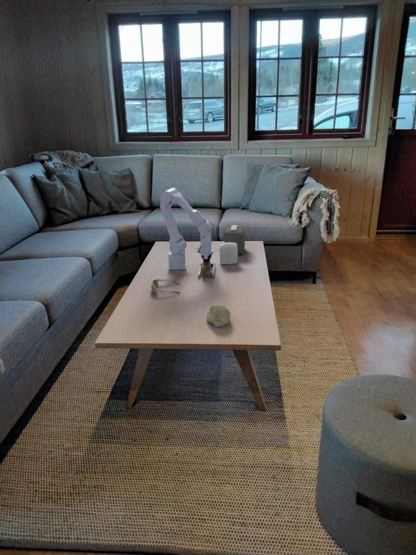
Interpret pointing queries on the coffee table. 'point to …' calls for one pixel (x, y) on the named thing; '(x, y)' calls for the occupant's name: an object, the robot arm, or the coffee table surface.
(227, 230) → the alarm clock
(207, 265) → the walnut block
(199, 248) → the eiffel tower figurine
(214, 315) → the decorative item
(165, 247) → the coffee table surface
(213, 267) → the channel
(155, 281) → the sunglasses
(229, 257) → the photo printer
